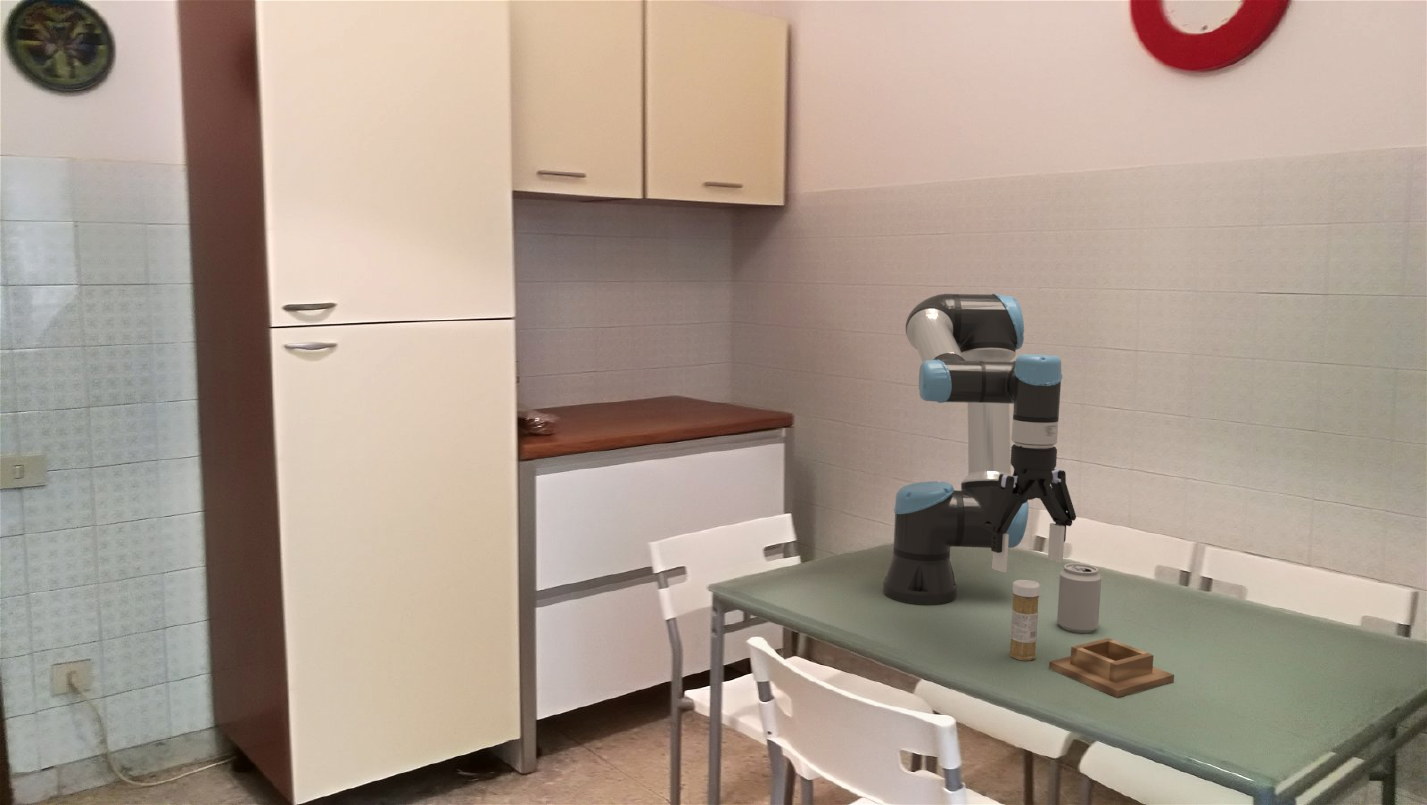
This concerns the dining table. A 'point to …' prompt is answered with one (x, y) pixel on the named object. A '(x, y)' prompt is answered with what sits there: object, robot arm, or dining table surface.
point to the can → (1079, 598)
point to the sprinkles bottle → (1024, 619)
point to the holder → (1112, 667)
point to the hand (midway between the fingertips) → (1027, 565)
